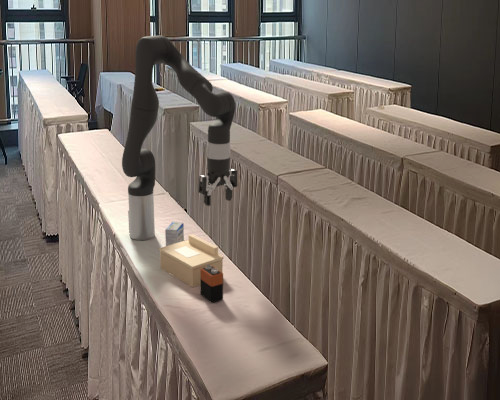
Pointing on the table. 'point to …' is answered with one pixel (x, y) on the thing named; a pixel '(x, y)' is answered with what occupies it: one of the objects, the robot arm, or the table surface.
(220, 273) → the battery
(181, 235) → the medicine box
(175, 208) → the table surface
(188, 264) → the lid
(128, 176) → the robot arm
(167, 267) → the box
